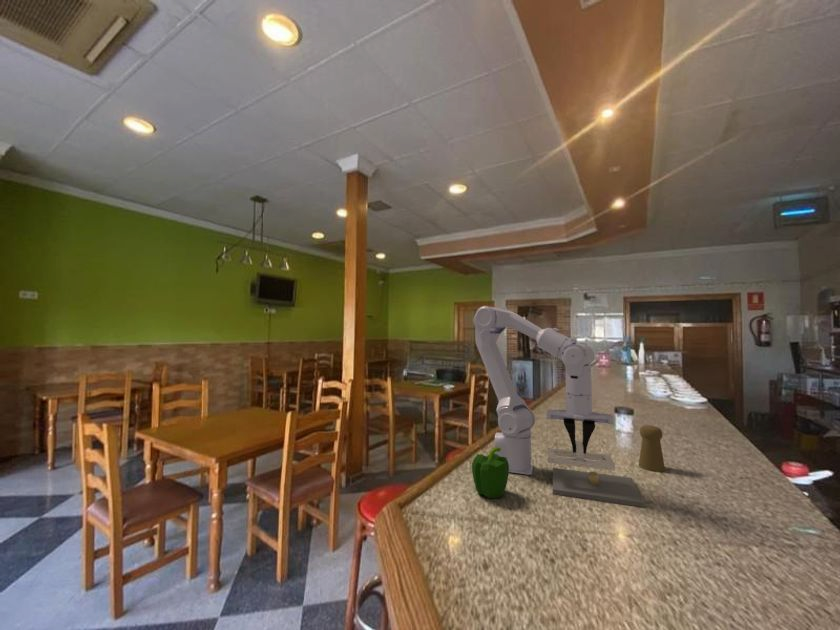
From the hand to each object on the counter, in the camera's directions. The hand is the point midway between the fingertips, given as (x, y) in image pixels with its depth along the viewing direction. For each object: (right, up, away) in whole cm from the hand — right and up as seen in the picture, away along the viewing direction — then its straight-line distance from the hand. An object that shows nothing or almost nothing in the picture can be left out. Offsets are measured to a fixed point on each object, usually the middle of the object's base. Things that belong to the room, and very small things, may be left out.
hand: (579, 451), depth 87 cm
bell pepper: (-22, -8, -5) cm, 24 cm away
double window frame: (0, -2, 0) cm, 2 cm away
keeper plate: (+3, -8, -1) cm, 8 cm away
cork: (+25, -9, +12) cm, 29 cm away
